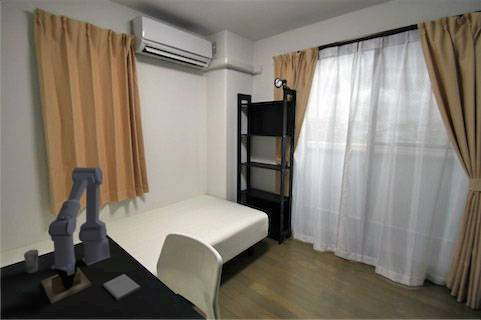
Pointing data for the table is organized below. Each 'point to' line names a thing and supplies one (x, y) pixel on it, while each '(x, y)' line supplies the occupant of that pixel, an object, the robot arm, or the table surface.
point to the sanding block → (58, 284)
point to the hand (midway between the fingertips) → (66, 284)
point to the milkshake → (31, 260)
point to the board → (55, 297)
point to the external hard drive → (121, 286)
